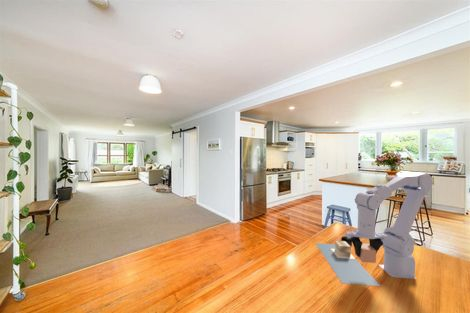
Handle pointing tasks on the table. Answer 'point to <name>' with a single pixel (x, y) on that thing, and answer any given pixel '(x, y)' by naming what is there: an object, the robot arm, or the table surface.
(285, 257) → the table surface
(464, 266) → the table surface
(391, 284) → the table surface
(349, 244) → the build plate
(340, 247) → the maple cube
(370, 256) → the terracotta cube
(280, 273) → the table surface
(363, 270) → the board
